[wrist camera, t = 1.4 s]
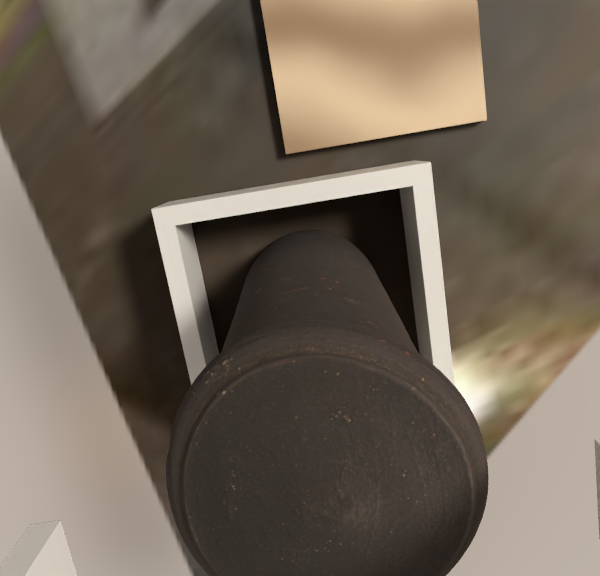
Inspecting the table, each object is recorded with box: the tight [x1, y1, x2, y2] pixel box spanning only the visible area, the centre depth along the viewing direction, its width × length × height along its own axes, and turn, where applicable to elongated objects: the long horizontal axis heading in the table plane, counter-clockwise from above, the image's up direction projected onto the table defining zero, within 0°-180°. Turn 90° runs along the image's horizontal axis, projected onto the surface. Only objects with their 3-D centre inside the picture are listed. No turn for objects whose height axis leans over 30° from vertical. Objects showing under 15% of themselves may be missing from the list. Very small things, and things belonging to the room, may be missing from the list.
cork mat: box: [260, 0, 487, 154], centre depth 29 cm, size 11×11×1 cm
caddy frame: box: [151, 160, 454, 385], centre depth 31 cm, size 14×14×4 cm
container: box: [166, 230, 488, 576], centre depth 24 cm, size 9×9×20 cm
